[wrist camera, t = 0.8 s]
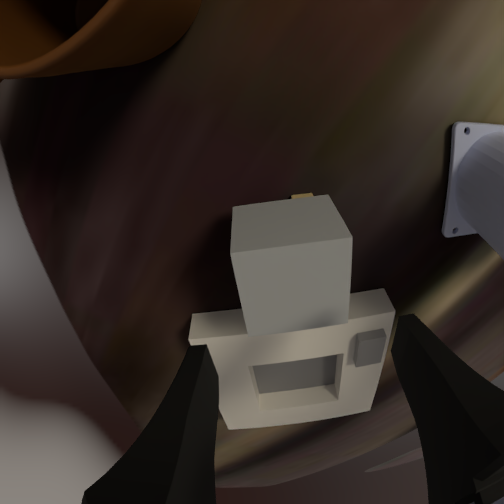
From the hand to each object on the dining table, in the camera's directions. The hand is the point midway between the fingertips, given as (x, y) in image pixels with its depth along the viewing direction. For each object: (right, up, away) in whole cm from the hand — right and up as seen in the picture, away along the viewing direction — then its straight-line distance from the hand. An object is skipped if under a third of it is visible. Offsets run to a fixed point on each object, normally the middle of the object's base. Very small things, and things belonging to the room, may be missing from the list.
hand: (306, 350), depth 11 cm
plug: (0, +5, +8) cm, 9 cm away
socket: (+2, -6, +15) cm, 16 cm away
